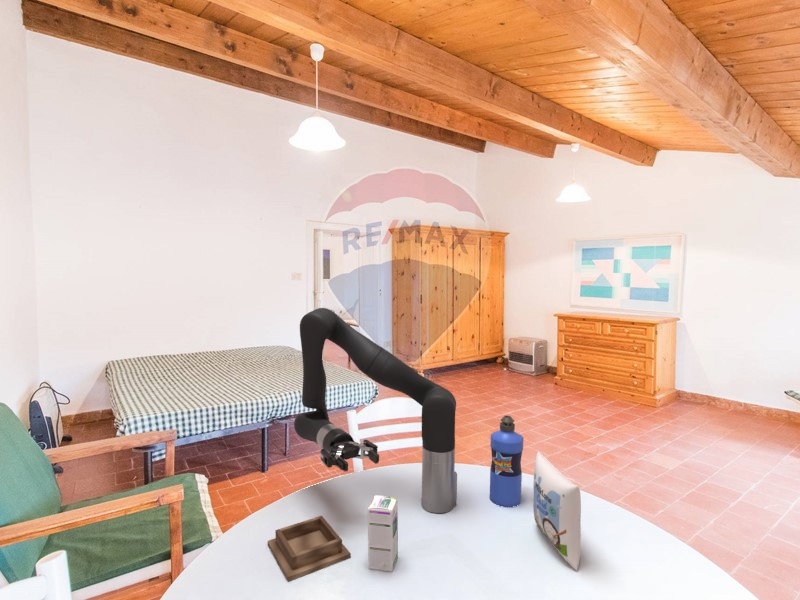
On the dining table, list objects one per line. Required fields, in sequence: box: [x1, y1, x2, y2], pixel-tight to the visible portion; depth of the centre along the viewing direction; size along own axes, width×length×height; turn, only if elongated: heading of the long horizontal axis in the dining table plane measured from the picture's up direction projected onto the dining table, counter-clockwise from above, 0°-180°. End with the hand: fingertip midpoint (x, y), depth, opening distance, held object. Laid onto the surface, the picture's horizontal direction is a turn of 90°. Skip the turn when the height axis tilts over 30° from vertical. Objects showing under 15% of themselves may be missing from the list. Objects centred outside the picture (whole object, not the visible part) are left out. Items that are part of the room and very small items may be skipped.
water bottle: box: [489, 415, 524, 508], centre depth 129 cm, size 9×9×25 cm
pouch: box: [532, 451, 582, 572], centre depth 108 cm, size 8×19×20 cm, turn 5°
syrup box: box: [367, 495, 399, 573], centre depth 101 cm, size 6×6×14 cm
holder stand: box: [267, 515, 352, 583], centre depth 105 cm, size 15×15×4 cm
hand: (362, 463), depth 108 cm, fingers open, 8 cm apart
